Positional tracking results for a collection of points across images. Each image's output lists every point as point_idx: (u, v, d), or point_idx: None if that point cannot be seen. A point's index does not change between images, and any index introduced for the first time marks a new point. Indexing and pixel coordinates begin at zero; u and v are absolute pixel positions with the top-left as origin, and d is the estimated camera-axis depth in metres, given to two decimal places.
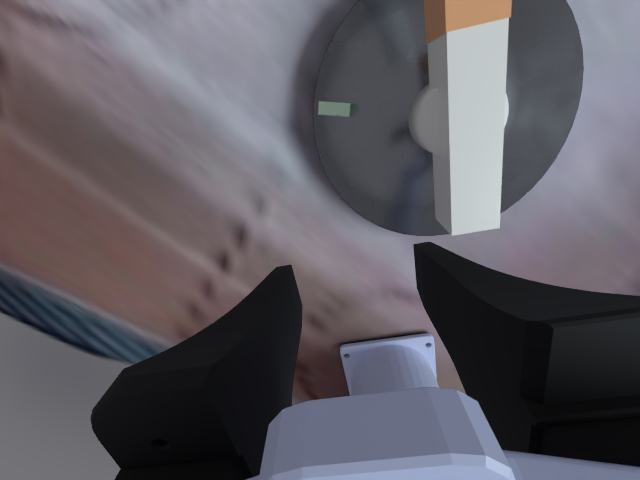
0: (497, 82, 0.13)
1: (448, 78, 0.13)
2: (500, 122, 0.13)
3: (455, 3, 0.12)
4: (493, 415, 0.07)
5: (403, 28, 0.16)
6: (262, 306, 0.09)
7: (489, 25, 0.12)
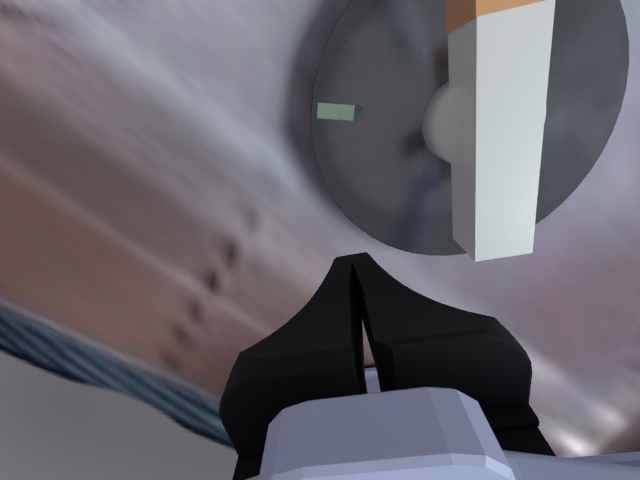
0: (537, 79, 0.10)
1: (477, 74, 0.10)
2: (539, 128, 0.11)
3: None
4: None
5: (417, 17, 0.13)
6: (346, 293, 0.08)
7: (530, 8, 0.10)
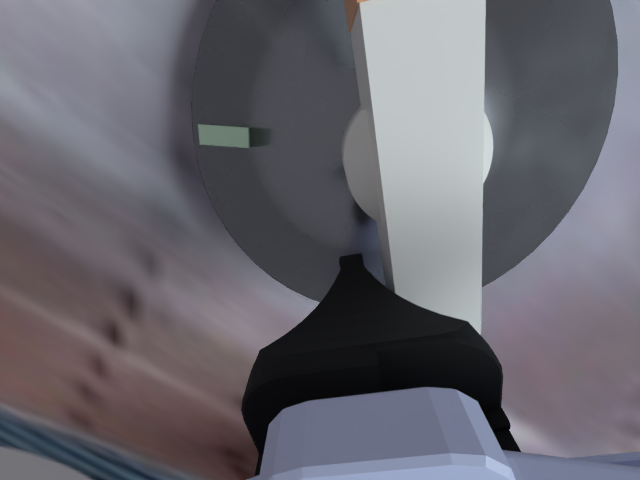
0: (467, 102, 0.07)
1: (372, 95, 0.07)
2: (476, 175, 0.07)
3: None
4: None
5: (321, 7, 0.09)
6: (361, 291, 0.08)
7: None
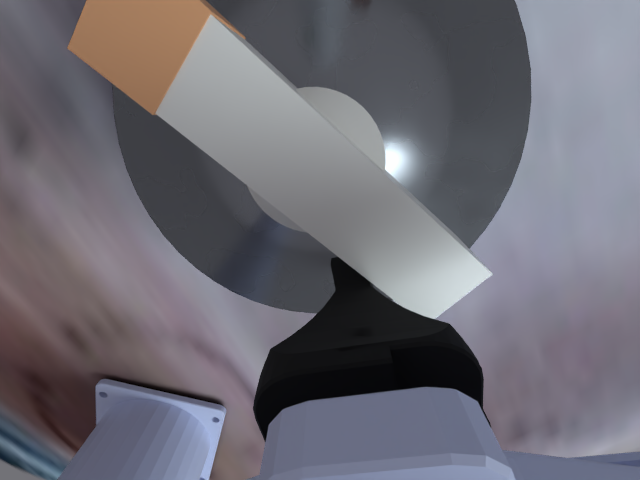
0: (288, 108, 0.07)
1: (218, 161, 0.07)
2: (349, 151, 0.07)
3: (125, 72, 0.06)
4: None
5: None
6: (368, 290, 0.08)
7: (196, 51, 0.06)
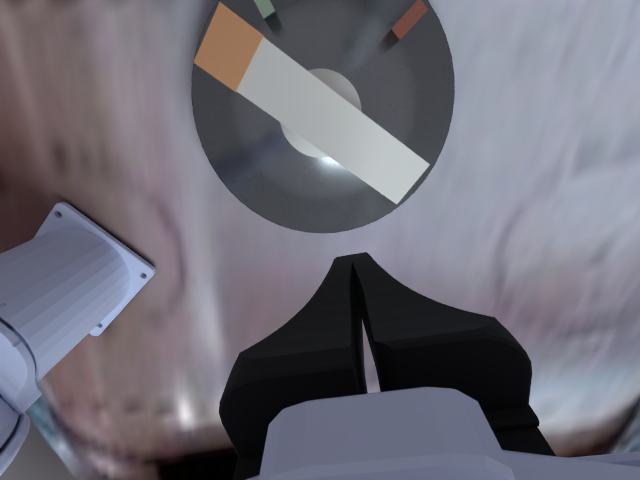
0: (304, 79, 0.13)
1: (269, 113, 0.14)
2: (338, 99, 0.13)
3: (221, 70, 0.13)
4: None
5: (361, 16, 0.15)
6: (346, 293, 0.08)
7: (256, 56, 0.13)
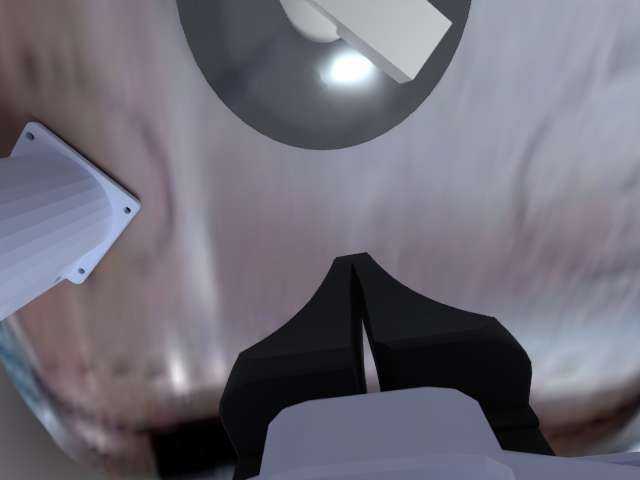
0: None
1: None
2: None
3: None
4: None
5: None
6: (346, 293, 0.08)
7: None
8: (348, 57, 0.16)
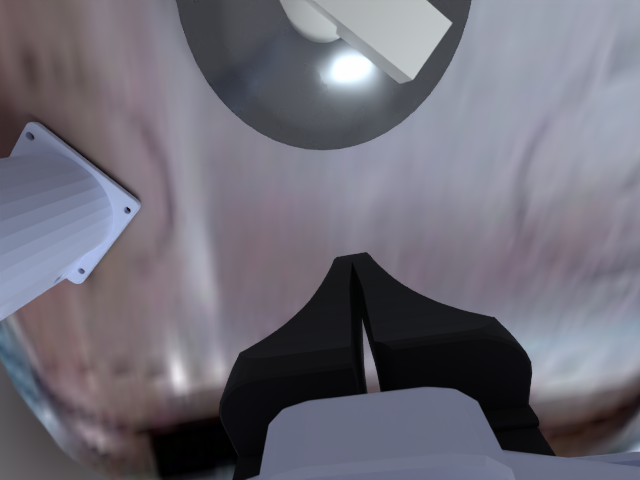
0: None
1: None
2: None
3: None
4: None
5: None
6: (346, 293, 0.08)
7: None
8: (348, 57, 0.16)
